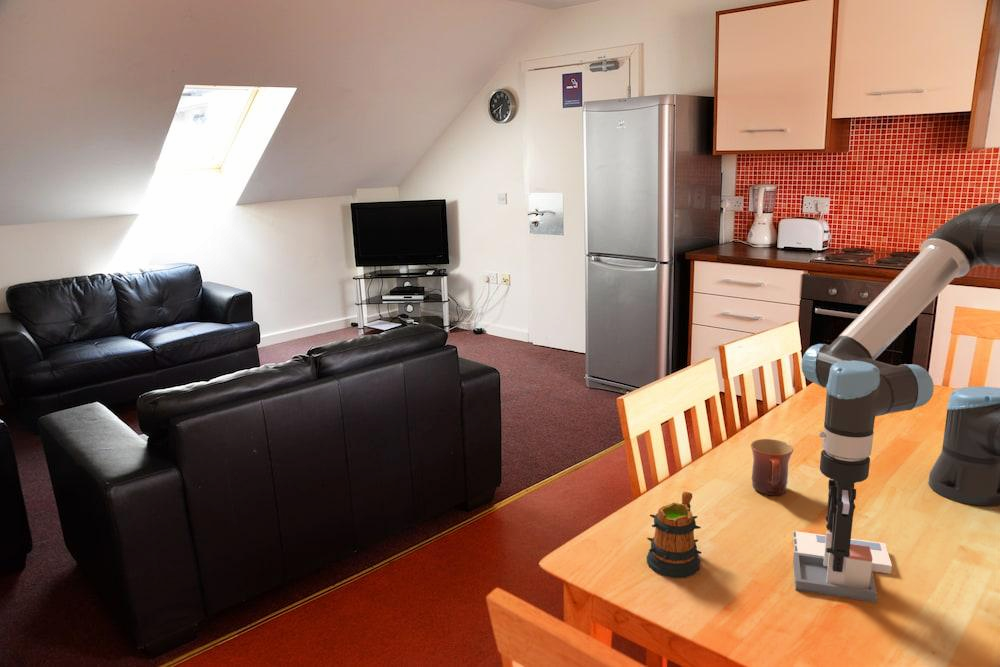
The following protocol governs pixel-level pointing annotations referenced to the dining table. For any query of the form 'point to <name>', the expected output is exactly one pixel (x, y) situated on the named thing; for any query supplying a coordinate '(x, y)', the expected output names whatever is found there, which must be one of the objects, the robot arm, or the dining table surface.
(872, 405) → the robot arm
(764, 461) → the mug
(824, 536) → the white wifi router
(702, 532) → the dining table surface
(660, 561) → the mug
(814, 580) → the tray
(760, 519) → the dining table surface
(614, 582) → the dining table surface
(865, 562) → the block
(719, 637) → the dining table surface
